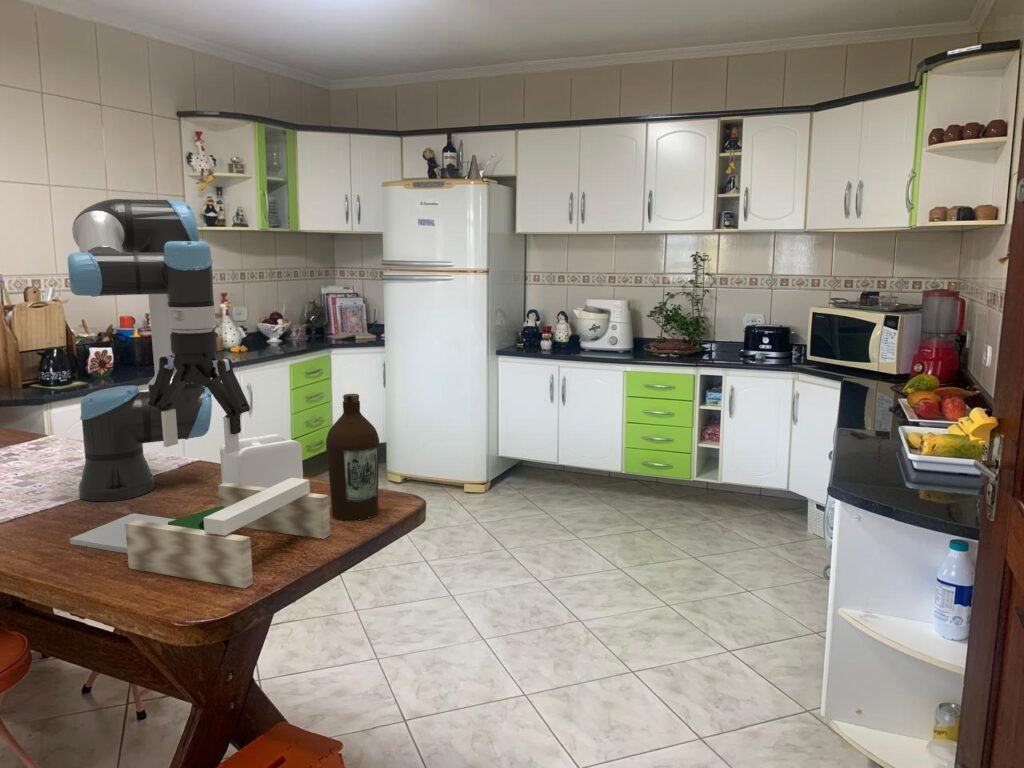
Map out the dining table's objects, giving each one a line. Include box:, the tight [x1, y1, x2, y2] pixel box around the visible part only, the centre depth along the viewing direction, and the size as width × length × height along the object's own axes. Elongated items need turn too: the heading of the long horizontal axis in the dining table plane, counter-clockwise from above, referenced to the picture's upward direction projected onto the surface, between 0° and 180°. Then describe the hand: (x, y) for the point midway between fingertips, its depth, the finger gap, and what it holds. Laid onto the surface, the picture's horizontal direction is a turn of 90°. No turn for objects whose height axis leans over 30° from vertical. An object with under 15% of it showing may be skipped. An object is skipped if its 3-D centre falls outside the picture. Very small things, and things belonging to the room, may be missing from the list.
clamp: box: [168, 505, 225, 530], centre depth 144 cm, size 12×6×9 cm, turn 139°
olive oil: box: [325, 393, 380, 521], centre depth 159 cm, size 11×11×25 cm
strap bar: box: [204, 478, 311, 536], centre depth 138 cm, size 4×24×2 cm, turn 161°
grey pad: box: [69, 512, 177, 554], centre depth 149 cm, size 14×15×1 cm
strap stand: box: [125, 482, 331, 589], centre depth 141 cm, size 24×25×8 cm
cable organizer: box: [219, 433, 304, 488], centre depth 176 cm, size 15×11×12 cm
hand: (201, 448), depth 140 cm, fingers open, 13 cm apart
